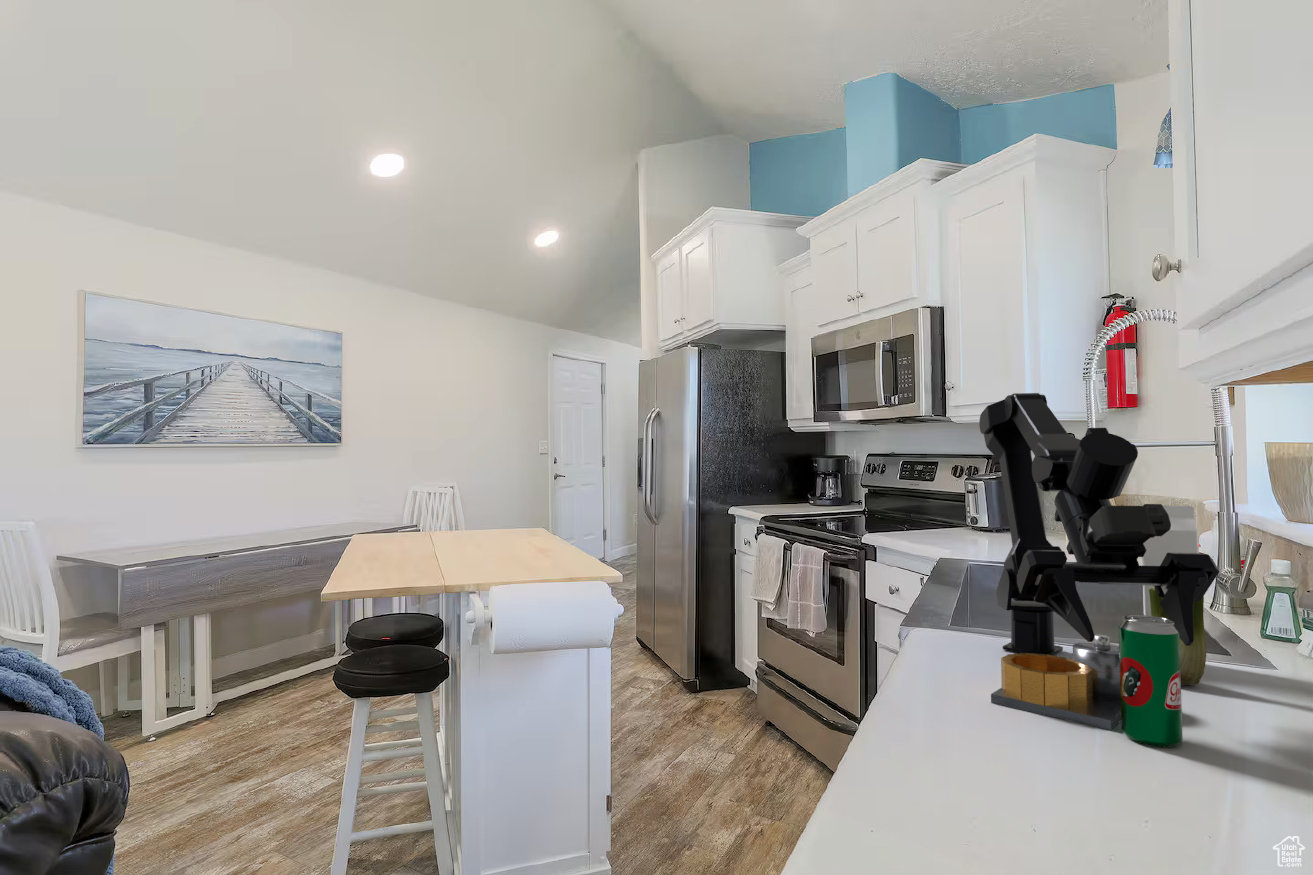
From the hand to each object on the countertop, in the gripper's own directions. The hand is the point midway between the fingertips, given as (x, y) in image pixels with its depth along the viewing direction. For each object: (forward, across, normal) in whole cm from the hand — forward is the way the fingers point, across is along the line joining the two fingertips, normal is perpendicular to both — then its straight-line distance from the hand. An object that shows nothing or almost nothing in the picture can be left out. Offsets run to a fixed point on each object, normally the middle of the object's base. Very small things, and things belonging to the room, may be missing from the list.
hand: (1140, 641), depth 73 cm
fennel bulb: (-7, +12, +20) cm, 25 cm away
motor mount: (0, -4, +13) cm, 14 cm away
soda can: (+8, 0, +6) cm, 10 cm away
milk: (-14, +17, +27) cm, 35 cm away
